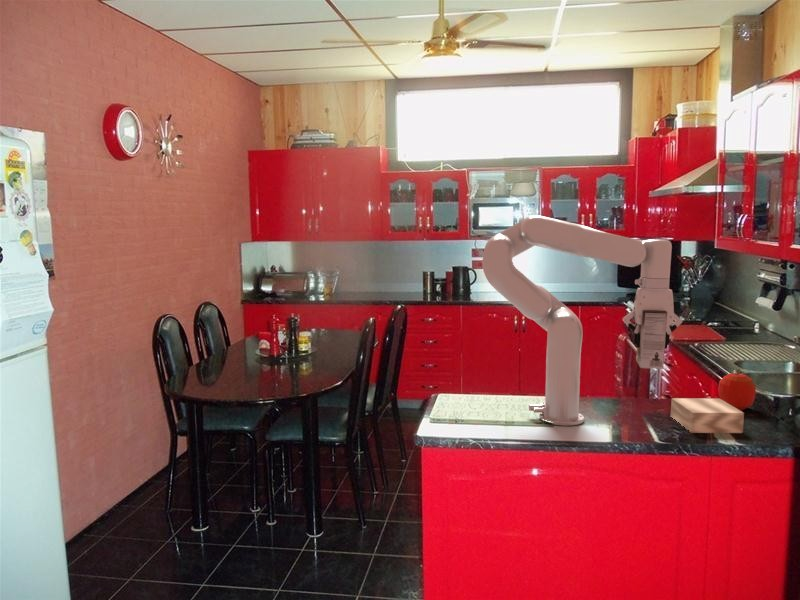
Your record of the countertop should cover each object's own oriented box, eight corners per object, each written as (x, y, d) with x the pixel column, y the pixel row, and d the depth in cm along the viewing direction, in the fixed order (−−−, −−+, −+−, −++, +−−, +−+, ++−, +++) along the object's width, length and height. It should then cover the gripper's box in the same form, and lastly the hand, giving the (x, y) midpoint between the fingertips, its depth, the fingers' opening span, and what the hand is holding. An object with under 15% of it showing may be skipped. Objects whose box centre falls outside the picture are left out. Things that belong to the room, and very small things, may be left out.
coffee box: (634, 361, 188) (638, 306, 186) (658, 362, 187) (662, 307, 185) (639, 368, 179) (643, 310, 177) (664, 369, 178) (668, 311, 176)
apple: (758, 407, 201) (761, 371, 199) (748, 415, 193) (751, 377, 192) (723, 401, 207) (725, 366, 206) (712, 408, 200) (715, 371, 199)
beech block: (691, 433, 177) (692, 412, 177) (670, 418, 191) (671, 398, 191) (742, 434, 177) (744, 412, 177) (718, 418, 191) (719, 398, 190)
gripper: (625, 284, 177) (621, 348, 180) (691, 286, 175) (687, 351, 178) (619, 282, 185) (615, 343, 187) (682, 283, 183) (678, 345, 185)
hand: (650, 346), depth 182 cm, fingers closed on coffee box, 6 cm apart
